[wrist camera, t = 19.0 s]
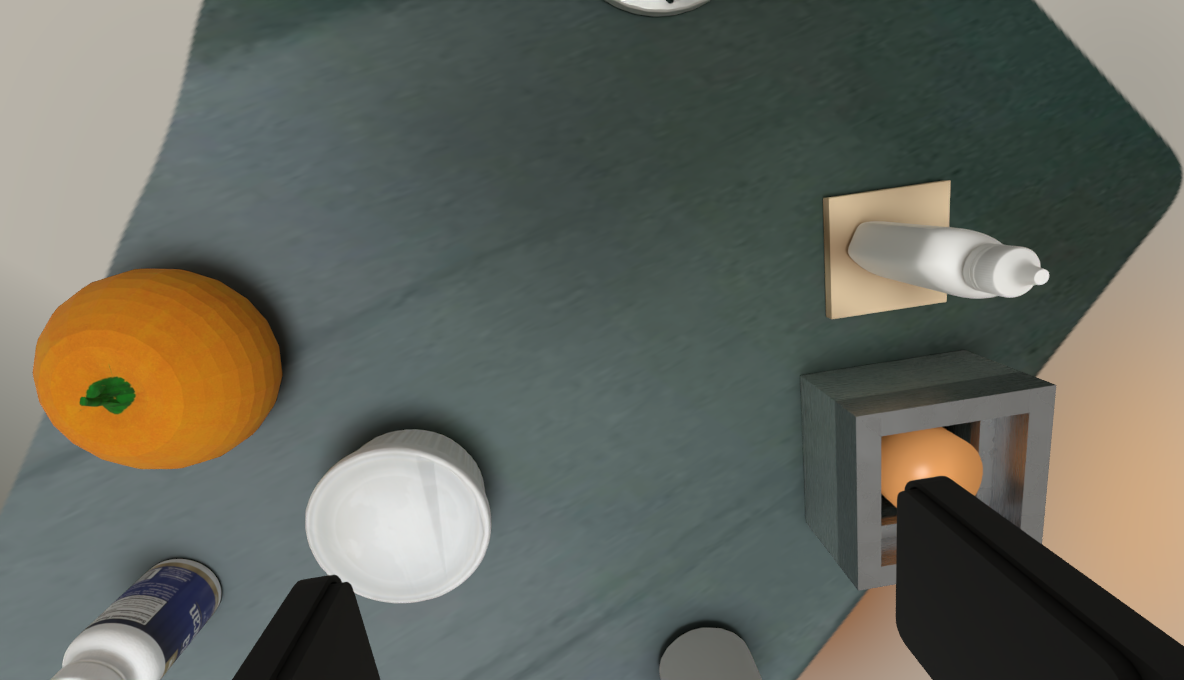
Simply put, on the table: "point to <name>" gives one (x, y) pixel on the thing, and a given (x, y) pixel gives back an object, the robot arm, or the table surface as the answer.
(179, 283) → the fruit
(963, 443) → the button
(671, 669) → the can
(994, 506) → the grey box
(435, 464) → the ramekin
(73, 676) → the pill bottle
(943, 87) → the table surface
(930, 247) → the eye dropper bottle
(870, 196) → the coaster
